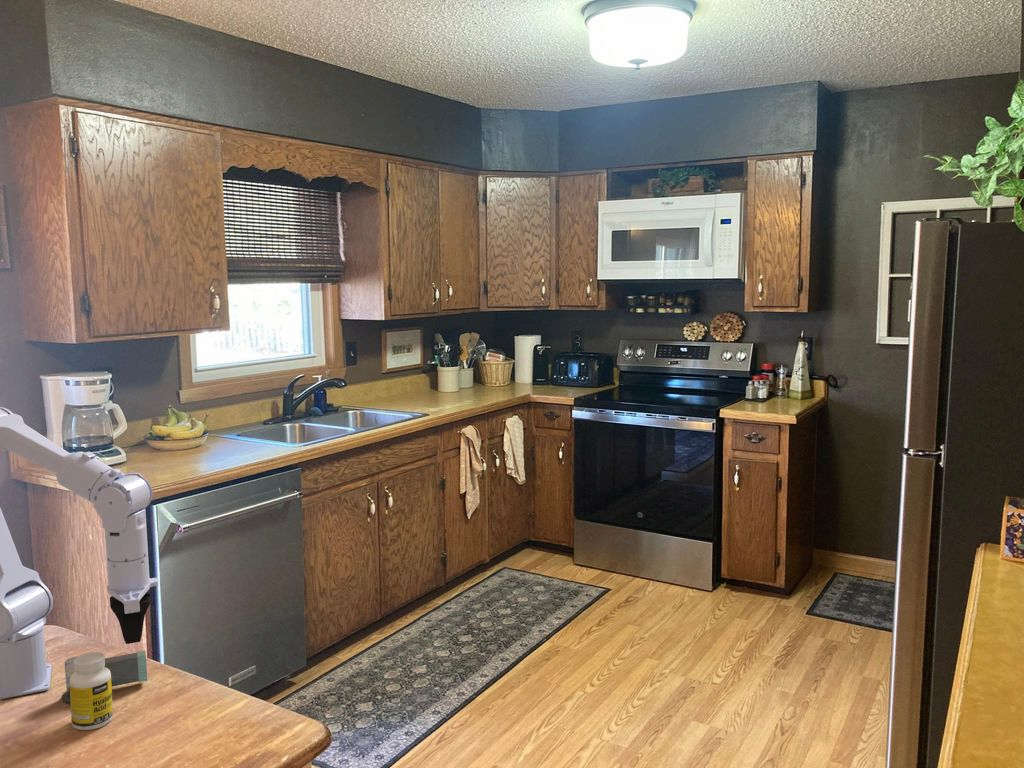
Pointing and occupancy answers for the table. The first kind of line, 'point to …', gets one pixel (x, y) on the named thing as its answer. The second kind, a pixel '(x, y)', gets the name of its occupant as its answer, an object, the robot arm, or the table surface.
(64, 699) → the pivot base
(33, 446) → the robot arm
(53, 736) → the table surface
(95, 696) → the supplement bottle
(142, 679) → the swing bar
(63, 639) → the table surface
